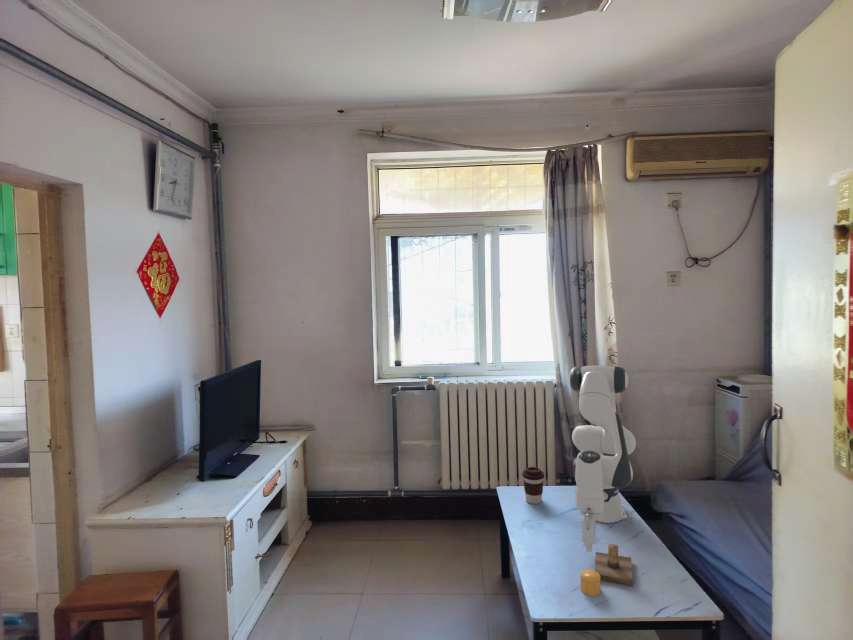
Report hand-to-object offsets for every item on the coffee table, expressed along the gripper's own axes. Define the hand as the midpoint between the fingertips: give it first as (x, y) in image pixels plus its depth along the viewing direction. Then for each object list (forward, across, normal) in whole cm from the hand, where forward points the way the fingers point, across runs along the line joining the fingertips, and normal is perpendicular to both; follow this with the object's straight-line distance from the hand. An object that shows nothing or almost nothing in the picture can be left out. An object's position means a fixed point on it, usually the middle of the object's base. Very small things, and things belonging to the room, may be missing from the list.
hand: (589, 543), depth 156 cm
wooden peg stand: (+16, +13, -7) cm, 22 cm away
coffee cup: (+16, +59, +28) cm, 67 cm away
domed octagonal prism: (+16, 0, 0) cm, 16 cm away
